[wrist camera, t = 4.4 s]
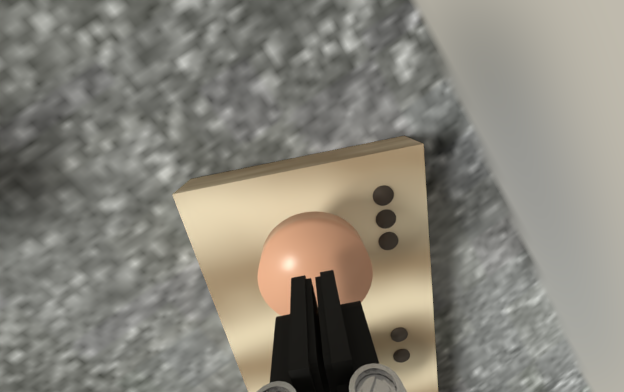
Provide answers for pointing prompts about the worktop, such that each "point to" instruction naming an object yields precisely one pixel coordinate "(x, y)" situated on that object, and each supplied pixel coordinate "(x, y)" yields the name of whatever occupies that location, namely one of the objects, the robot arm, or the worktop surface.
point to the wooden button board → (338, 201)
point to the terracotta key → (313, 258)
